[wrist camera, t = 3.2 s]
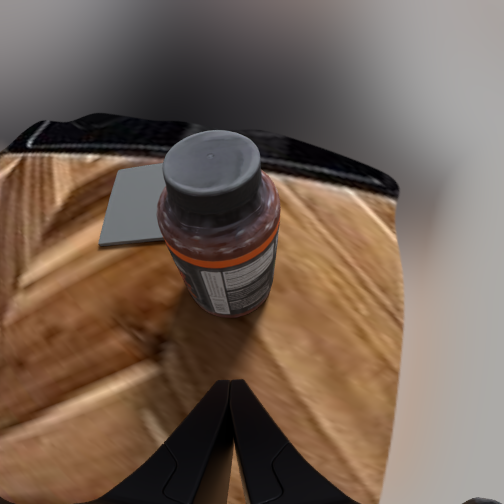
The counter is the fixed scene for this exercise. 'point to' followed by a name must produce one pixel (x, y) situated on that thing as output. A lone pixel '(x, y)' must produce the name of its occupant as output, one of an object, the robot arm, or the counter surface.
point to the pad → (134, 206)
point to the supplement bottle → (220, 221)
